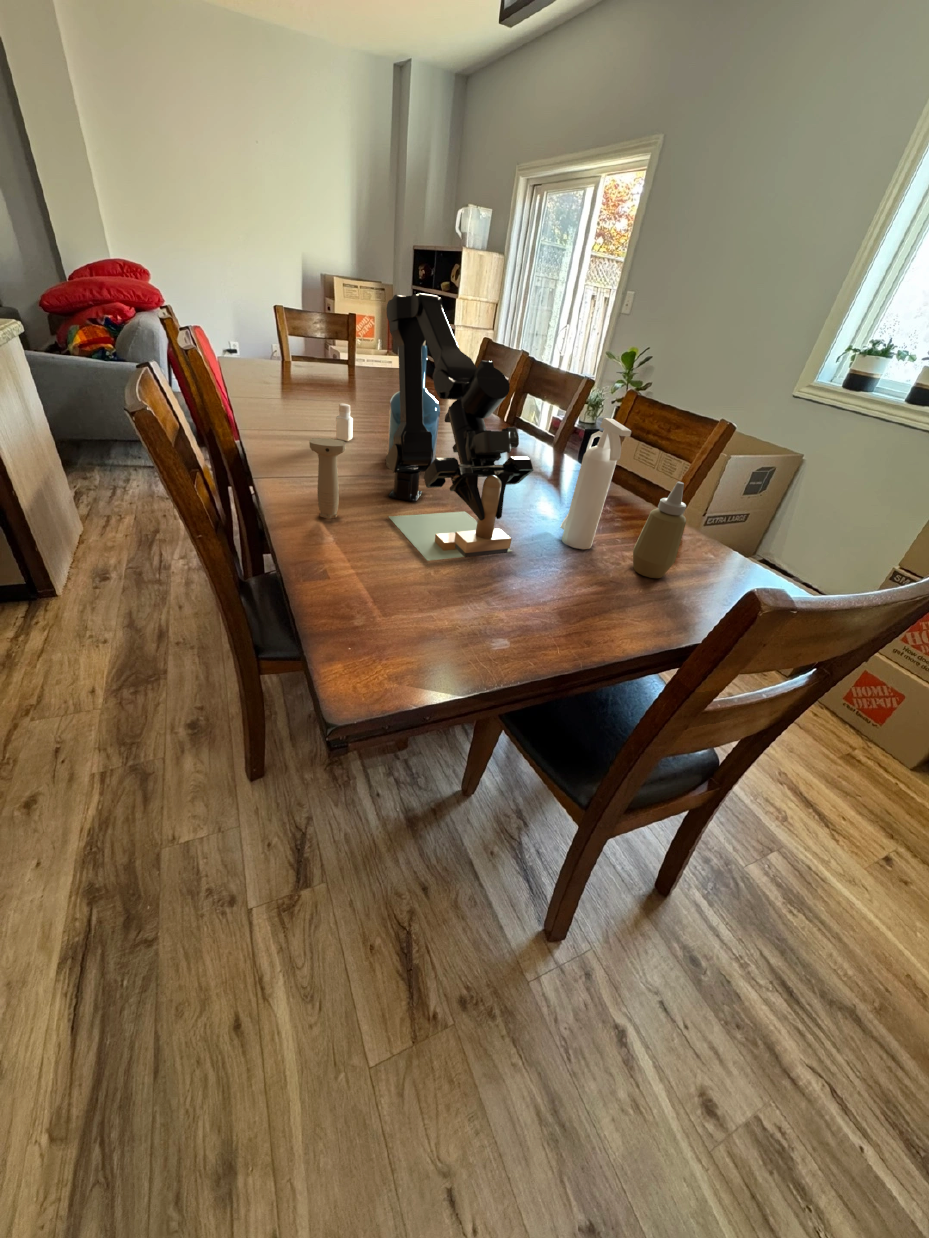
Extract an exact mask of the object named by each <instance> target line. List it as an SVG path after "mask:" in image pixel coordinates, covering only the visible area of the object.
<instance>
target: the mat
mask: <svg viewBox="0 0 929 1238" xmlns="http://www.w3.org/2000/svg"><path fill="white" fill-rule="evenodd" d="M387 518H388V519H389V520H390V521H391V523H393V524H394V525H395V526H396V528H397V529H398V530H399V531H400V532H401V533H402V534H403V536H405V537H406V539H407V540H408V542H410V543H411V545H412V546H413V547H414V548H415V549H416V550H417V551H418V553H420V555H422V557H423V558H424V559H425V560H426V561H428V562H429V561H431V562H432V561H439V560H448V559H449V560H450V559H456V558H457V559H459V558H465V557H464V556H463V555H462V554H461V553H460V552H459V551H458V550H457V549H455V550H445V551H443V550H442V549H441V548H440V547H439V545H438V544H437V543H436V542H435V534H442V533H456V532H459V531H471V530H476V527H477V520H476V519H475V518H474V517H472V516H471V515H470V514H469V513H468V512H467V511H464V510H463V511H452V512H436V513H434V512H433V513H419V514H405V515H404V514H403V515H388V516H387ZM511 552H513V550H511V548H508V552H507V553H511Z"/></svg>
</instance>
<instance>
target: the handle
mask: <svg viewBox="0 0 929 1238" xmlns="http://www.w3.org/2000/svg"><path fill="white" fill-rule="evenodd" d="M346 448H347V443H346V441H344V440H338V439H336V438H330V437H329V438H328V437H312V438H310V439H309V449H310V450H311V451H313V452H314V453H316V454H317V458H318V466H317V467H318V468H317V503H318V504H317V505H318V509H319V517H321V518H324V519H328V520H330V519H335V518H337V517H338V511H339V502H340V501H339V500H340V488H339V486H340V485H339V473H338V472H339V470H338V456H339V455H342V454H343V453H344V452H346V450H347V449H346Z"/></svg>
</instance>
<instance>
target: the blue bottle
mask: <svg viewBox="0 0 929 1238" xmlns="http://www.w3.org/2000/svg"><path fill="white" fill-rule="evenodd" d="M427 361H428V345H427V344H426V341H425V342H424V343H423V345H422V387H423V424H424V425H425V427H426V429H427V431H430V432H431V434H432V448H433V458H432V462H433V461H434V459H435V458H436V457H437V456H436V454H437V445H438V436H439V426H440V415H441V407H440V404H439V401H438V400H437V399H436V398H435V396H434V395H433V394H431V393H430V392H429V390H428V389H427V388H426V380H427V379H426V378H427V377H426V376H427ZM400 421H401V420H400V390H399V391H397V392H395V393H394V394H393V395H392V396H391V398H390V400H389V409H388V430H387V448H386V452H387V454H388V452H389V451H390V449H391V447H392V445H393V437H394V434H395V432H396V430H397V429H398V427H399V425H400ZM432 462H431V463H432Z"/></svg>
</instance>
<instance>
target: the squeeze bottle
mask: <svg viewBox="0 0 929 1238" xmlns="http://www.w3.org/2000/svg"><path fill="white" fill-rule="evenodd" d="M684 487H685V483H684V482H683V481H676V483H675V485H674V486H673V488H672V489H671V492H670V493H669V494H668V496H667V497H662V498H660V500H659V503H658V505H657V508H654V509H652V510H651V511H650V513H649V514H648V517H647V519H646V521H645V522H644V525H643V528H642V529H641V531H640V534H639V536H638V538H637V540H636V542H635V545H634V547H633V549H632V565H633V566H632V568H633V571H634V572H636V573H637V574H639V575H641V576H643V577H647V578H650V579H661V578H663V577H664V576H665V575H666V573H668V571H669V570H670V569H671V567H673V565H674V564H675V563H676V559H677V556H678V552H679V549H680V545H681V542H682V539H683V535H684V531H685V527H686V523H687V518H686V517H685V515H684V514H685V511H686V509H687V504H686V503H685V502H684V501H683V494H684Z"/></svg>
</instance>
